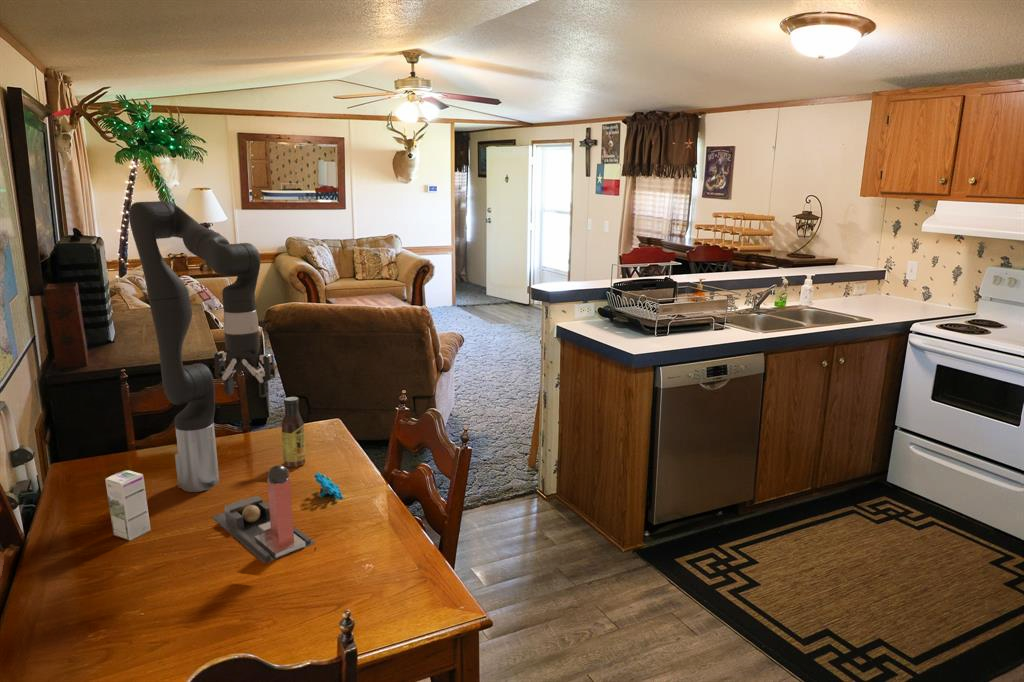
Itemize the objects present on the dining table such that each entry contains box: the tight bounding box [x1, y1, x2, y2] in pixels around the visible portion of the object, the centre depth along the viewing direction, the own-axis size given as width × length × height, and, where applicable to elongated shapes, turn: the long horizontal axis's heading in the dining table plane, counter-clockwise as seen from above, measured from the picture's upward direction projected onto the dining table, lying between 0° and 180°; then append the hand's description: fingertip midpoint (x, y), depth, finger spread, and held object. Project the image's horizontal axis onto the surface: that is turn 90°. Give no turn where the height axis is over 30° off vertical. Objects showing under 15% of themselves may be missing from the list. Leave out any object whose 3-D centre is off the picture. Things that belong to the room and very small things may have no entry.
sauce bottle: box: [281, 396, 306, 468], centre depth 193 cm, size 7×6×20 cm
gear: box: [314, 472, 345, 500], centre depth 174 cm, size 11×6×10 cm
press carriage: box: [255, 464, 306, 558], centre depth 148 cm, size 10×7×19 cm
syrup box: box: [105, 469, 151, 541], centre depth 155 cm, size 6×6×14 cm
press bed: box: [211, 495, 317, 564], centre depth 156 cm, size 28×12×5 cm, turn 45°
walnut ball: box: [242, 505, 260, 522], centre depth 159 cm, size 4×4×4 cm
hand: (246, 395), depth 161 cm, fingers open, 8 cm apart
